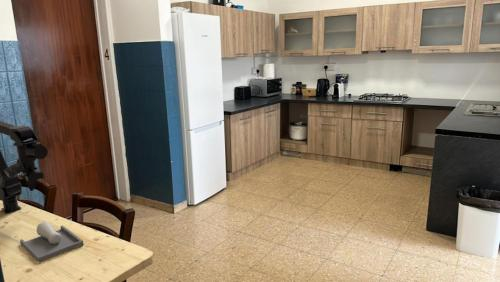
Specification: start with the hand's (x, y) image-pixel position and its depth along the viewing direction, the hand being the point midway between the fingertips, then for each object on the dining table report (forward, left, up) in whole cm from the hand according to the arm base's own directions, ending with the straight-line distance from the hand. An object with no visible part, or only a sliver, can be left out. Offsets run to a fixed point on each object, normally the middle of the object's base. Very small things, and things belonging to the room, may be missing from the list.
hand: (31, 190), depth 160 cm
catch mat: (+31, -5, -12) cm, 34 cm away
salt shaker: (+20, -4, -9) cm, 22 cm away
